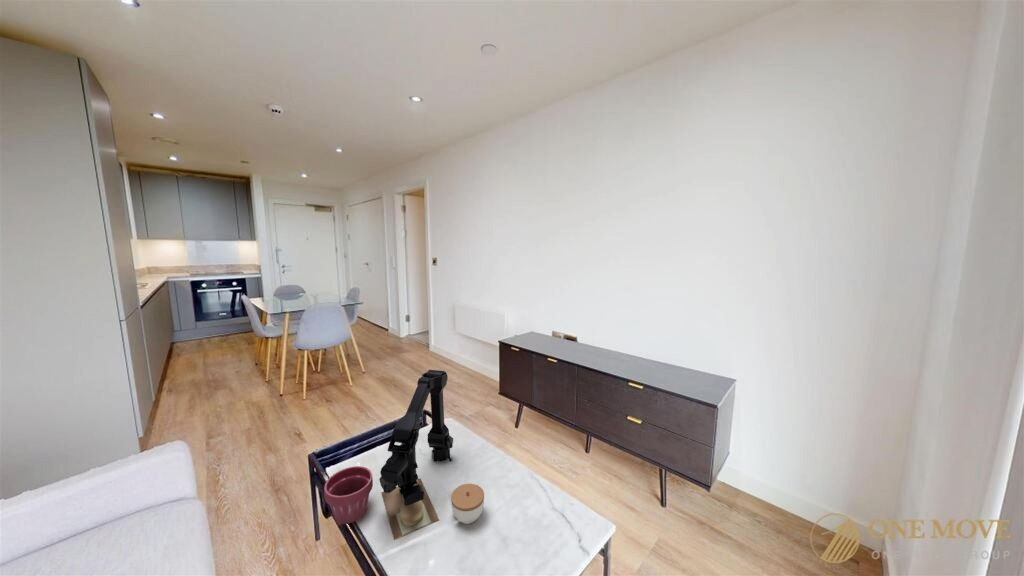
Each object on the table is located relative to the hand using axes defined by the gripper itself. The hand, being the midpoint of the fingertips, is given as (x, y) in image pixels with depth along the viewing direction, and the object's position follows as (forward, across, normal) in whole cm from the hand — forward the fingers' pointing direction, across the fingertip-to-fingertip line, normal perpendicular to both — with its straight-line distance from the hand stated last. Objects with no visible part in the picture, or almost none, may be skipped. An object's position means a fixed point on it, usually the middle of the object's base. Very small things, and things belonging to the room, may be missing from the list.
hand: (408, 503), depth 112 cm
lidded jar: (+2, +13, +16) cm, 21 cm away
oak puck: (+1, +5, 0) cm, 5 cm away
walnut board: (+2, 0, 0) cm, 2 cm away
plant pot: (+3, -7, -17) cm, 19 cm away
